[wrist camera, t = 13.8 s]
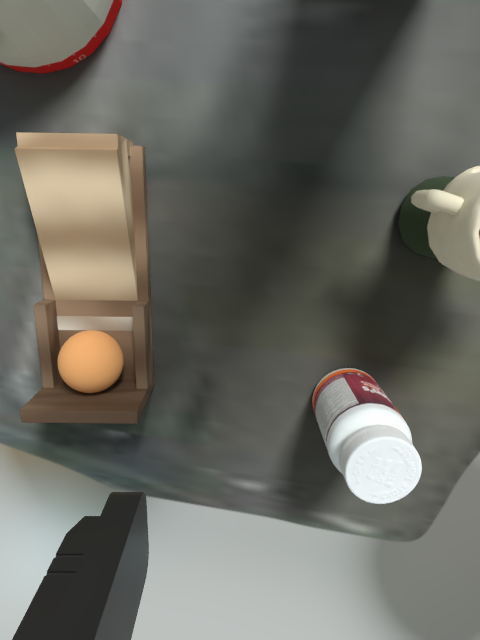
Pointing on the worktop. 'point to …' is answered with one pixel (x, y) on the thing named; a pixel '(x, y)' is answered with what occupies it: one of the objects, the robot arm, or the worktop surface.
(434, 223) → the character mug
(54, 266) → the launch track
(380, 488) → the pill bottle
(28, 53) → the white dome
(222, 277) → the worktop surface
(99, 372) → the ball
